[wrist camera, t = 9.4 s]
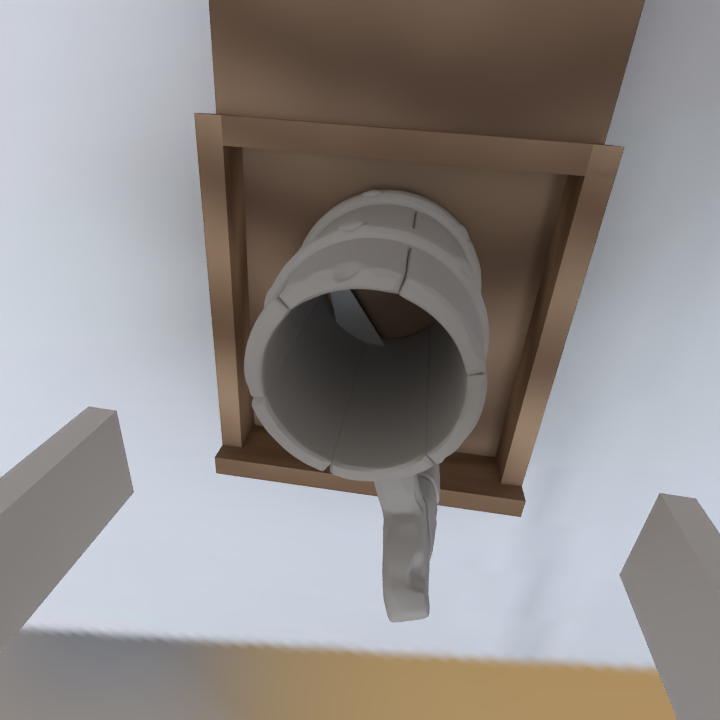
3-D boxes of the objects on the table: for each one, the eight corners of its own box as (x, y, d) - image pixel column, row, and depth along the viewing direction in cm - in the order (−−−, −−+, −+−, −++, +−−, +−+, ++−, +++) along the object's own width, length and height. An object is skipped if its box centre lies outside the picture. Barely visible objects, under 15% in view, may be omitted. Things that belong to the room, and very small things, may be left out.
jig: (216, -146, 16) (147, -233, 12) (665, -131, 15) (752, -223, 11) (247, 421, 27) (216, 473, 23) (506, 456, 26) (520, 516, 22)
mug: (461, 162, 18) (509, 217, 8) (500, 412, 23) (563, 658, 12) (281, 209, 20) (116, 308, 9) (353, 433, 25) (298, 665, 14)
